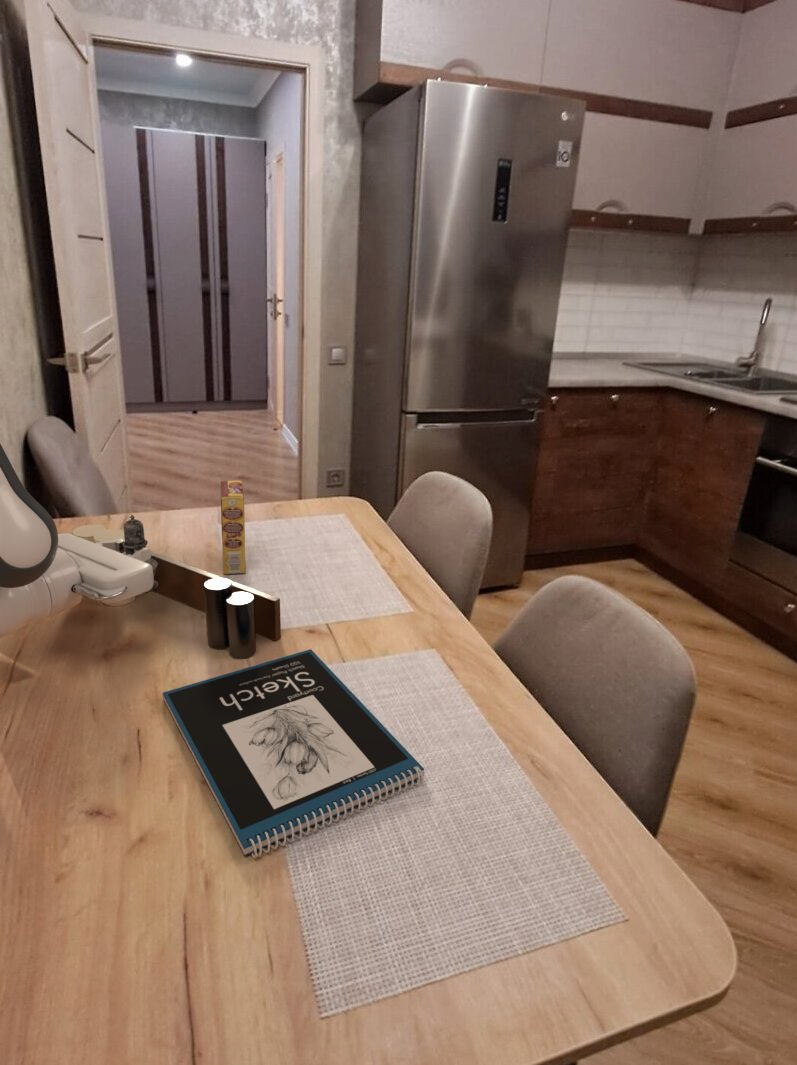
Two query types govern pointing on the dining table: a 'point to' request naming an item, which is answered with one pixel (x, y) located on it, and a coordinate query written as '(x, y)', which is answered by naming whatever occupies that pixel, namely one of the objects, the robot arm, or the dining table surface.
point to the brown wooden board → (189, 590)
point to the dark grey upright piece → (137, 542)
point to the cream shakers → (101, 535)
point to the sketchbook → (287, 748)
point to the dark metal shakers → (230, 618)
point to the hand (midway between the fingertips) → (136, 547)
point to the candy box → (233, 527)
